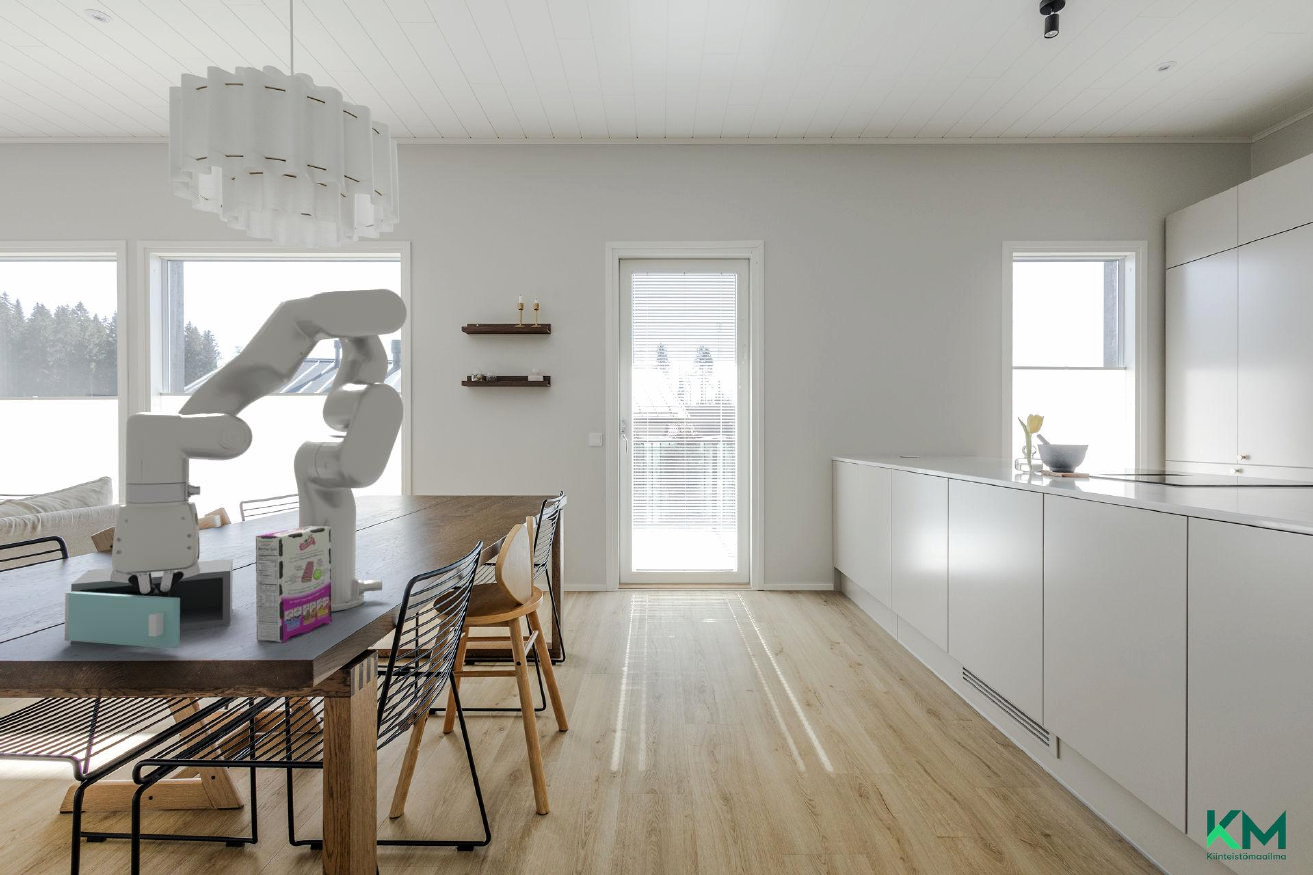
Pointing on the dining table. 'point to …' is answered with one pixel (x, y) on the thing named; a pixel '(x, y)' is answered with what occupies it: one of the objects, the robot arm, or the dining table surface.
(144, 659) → the dining table surface
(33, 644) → the dining table surface
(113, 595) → the side door
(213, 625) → the case
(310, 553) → the candy bar box
